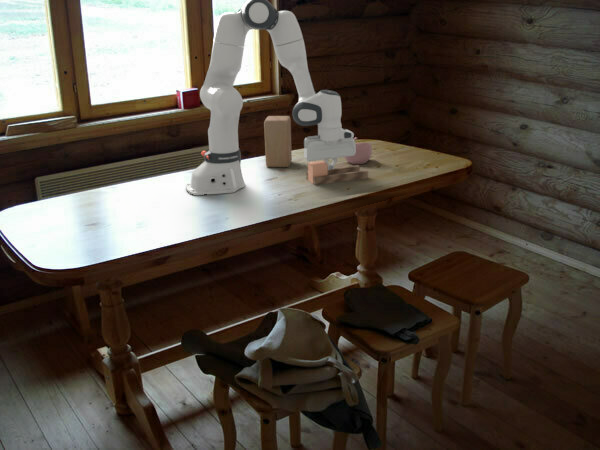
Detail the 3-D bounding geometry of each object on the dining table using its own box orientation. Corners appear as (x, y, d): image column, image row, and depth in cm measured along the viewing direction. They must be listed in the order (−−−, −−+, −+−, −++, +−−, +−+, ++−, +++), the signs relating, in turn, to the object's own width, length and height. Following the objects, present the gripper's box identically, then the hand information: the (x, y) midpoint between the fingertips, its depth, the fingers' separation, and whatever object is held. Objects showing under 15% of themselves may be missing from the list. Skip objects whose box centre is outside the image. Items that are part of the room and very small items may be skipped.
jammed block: (312, 183, 245) (312, 165, 242) (308, 180, 249) (307, 162, 247) (327, 181, 247) (327, 164, 244) (322, 178, 251) (322, 160, 249)
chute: (314, 188, 243) (314, 178, 242) (306, 181, 251) (306, 171, 250) (367, 181, 250) (367, 171, 249) (357, 174, 258) (358, 165, 257)
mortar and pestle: (364, 159, 279) (364, 133, 275) (376, 166, 268) (376, 139, 264) (338, 162, 276) (338, 136, 272) (349, 170, 265) (349, 142, 261)
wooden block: (292, 161, 279) (290, 115, 272) (289, 167, 270) (288, 120, 263) (269, 161, 280) (267, 115, 273) (265, 167, 271) (263, 120, 264)
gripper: (307, 138, 237) (307, 174, 242) (357, 132, 244) (357, 168, 249) (301, 135, 243) (301, 170, 248) (350, 129, 249) (350, 164, 254)
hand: (330, 169), depth 248 cm, fingers closed
